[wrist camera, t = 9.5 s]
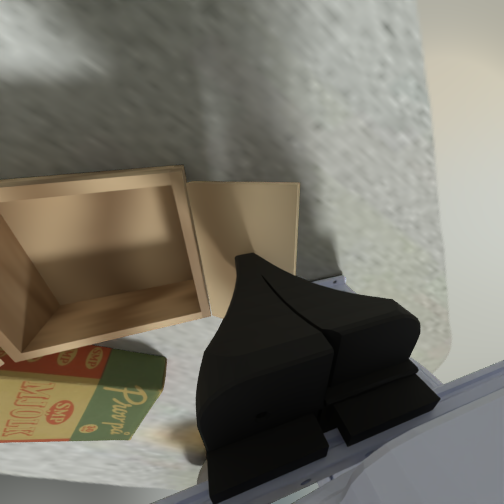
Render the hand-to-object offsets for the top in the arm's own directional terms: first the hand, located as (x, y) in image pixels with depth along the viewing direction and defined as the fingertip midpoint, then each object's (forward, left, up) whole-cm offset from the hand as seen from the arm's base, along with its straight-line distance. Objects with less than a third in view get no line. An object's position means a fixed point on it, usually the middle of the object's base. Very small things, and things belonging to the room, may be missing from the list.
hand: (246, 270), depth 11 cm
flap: (0, 0, 0) cm, 0 cm away
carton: (+17, +13, -8) cm, 23 cm away
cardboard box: (+8, 0, -8) cm, 11 cm away
